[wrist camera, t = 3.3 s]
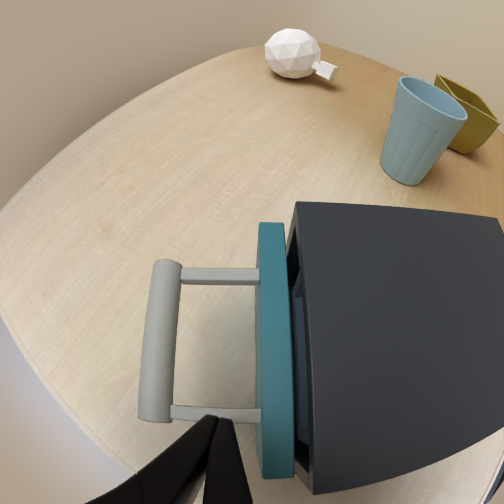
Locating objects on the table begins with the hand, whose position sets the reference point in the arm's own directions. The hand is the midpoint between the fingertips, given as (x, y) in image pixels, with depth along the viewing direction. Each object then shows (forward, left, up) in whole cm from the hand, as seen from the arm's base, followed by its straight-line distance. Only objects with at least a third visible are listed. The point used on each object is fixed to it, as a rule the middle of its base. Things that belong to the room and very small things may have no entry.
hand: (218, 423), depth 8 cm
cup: (+23, -18, -10) cm, 31 cm away
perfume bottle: (+44, -8, -10) cm, 46 cm away
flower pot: (+32, -31, -10) cm, 46 cm away
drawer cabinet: (+3, -10, -10) cm, 15 cm away
